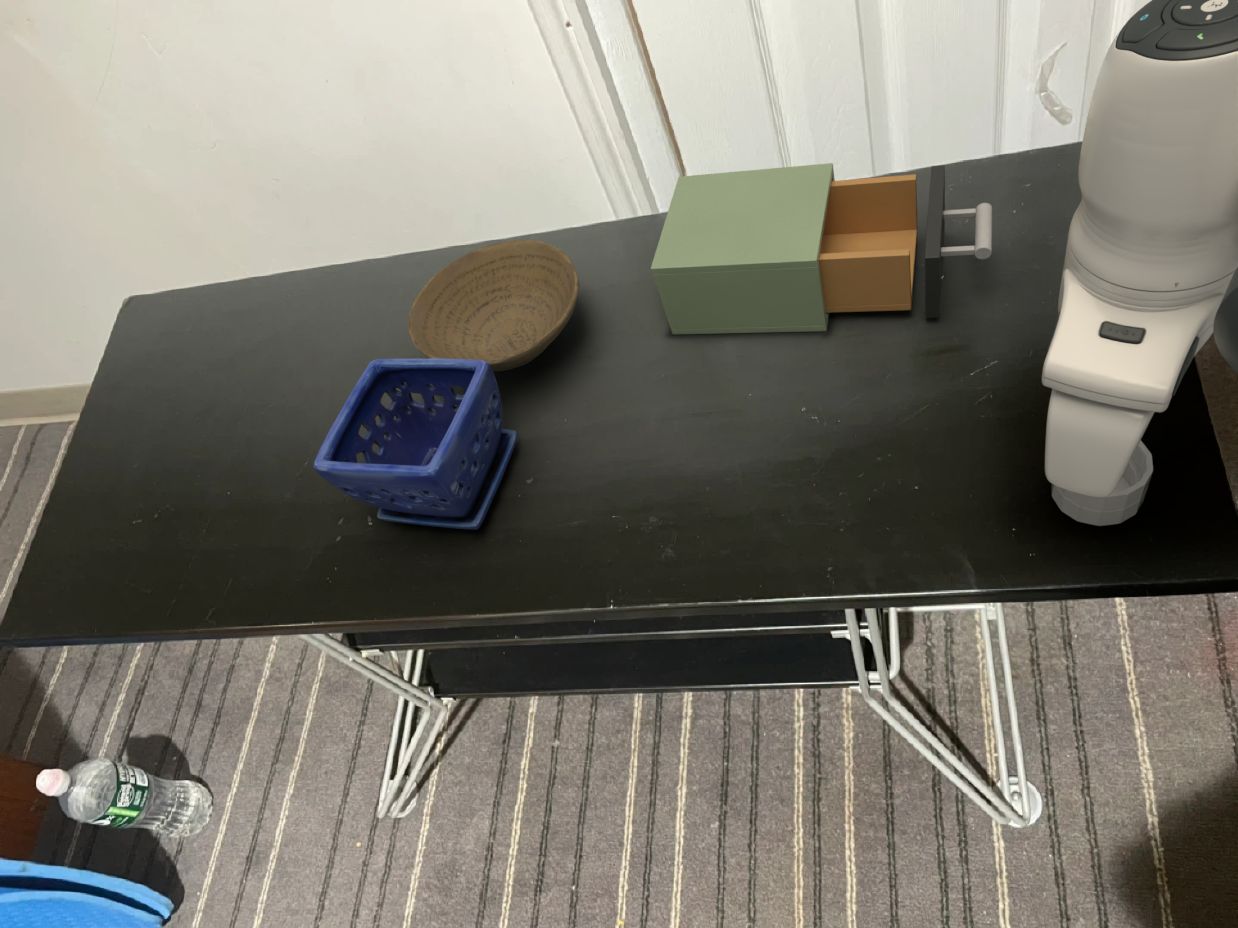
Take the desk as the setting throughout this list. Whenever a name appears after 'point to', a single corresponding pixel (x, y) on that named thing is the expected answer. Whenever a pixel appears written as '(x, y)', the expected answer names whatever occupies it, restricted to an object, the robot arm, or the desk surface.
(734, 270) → the cabinet
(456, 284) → the bowl
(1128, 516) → the steel bowl
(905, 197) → the drawer
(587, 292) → the desk surface
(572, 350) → the desk surface
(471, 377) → the flower pot
